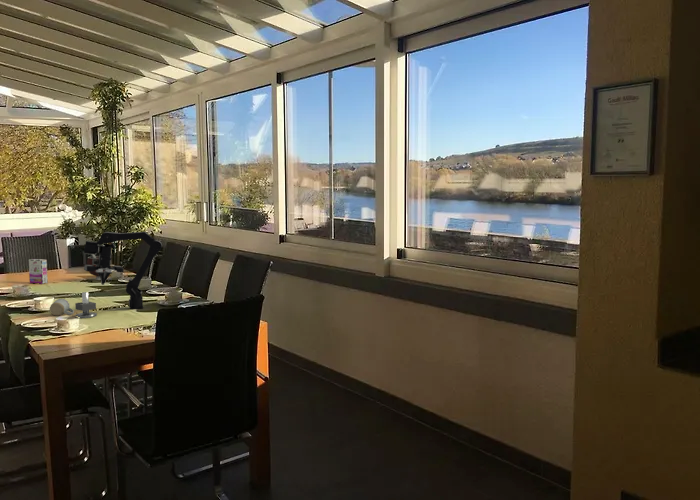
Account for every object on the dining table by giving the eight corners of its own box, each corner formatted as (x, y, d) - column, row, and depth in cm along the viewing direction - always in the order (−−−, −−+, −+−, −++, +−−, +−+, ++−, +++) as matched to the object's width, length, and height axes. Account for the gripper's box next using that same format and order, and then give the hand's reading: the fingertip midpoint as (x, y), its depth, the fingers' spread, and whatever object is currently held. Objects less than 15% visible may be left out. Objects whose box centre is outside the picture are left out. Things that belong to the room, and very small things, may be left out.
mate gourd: (113, 281, 418) (112, 252, 416) (96, 283, 406) (95, 254, 404) (99, 279, 426) (98, 251, 424) (82, 281, 415) (81, 252, 413)
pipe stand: (90, 313, 308) (89, 290, 307) (100, 315, 302) (99, 292, 301) (71, 316, 300) (70, 292, 299) (81, 319, 294) (80, 295, 293)
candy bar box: (48, 283, 407) (47, 259, 405) (42, 284, 402) (41, 260, 400) (35, 282, 410) (34, 258, 408) (29, 283, 405) (28, 259, 404)
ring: (88, 307, 306) (88, 301, 305) (96, 308, 301) (95, 303, 301) (75, 309, 300) (75, 303, 300) (82, 311, 296) (82, 305, 296)
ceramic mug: (48, 316, 300) (48, 301, 299) (54, 313, 308) (54, 298, 307) (71, 316, 302) (71, 301, 301) (76, 313, 310) (75, 298, 309)
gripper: (118, 254, 328) (115, 282, 329) (82, 252, 317) (80, 281, 318) (125, 257, 320) (122, 285, 321) (88, 255, 308) (85, 285, 309)
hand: (102, 284), depth 317 cm, fingers closed
